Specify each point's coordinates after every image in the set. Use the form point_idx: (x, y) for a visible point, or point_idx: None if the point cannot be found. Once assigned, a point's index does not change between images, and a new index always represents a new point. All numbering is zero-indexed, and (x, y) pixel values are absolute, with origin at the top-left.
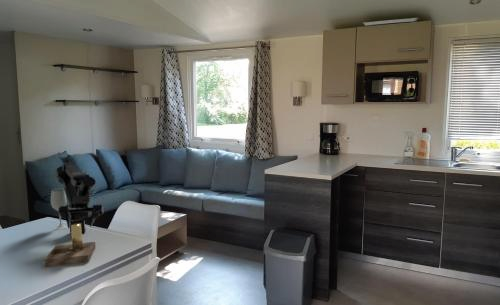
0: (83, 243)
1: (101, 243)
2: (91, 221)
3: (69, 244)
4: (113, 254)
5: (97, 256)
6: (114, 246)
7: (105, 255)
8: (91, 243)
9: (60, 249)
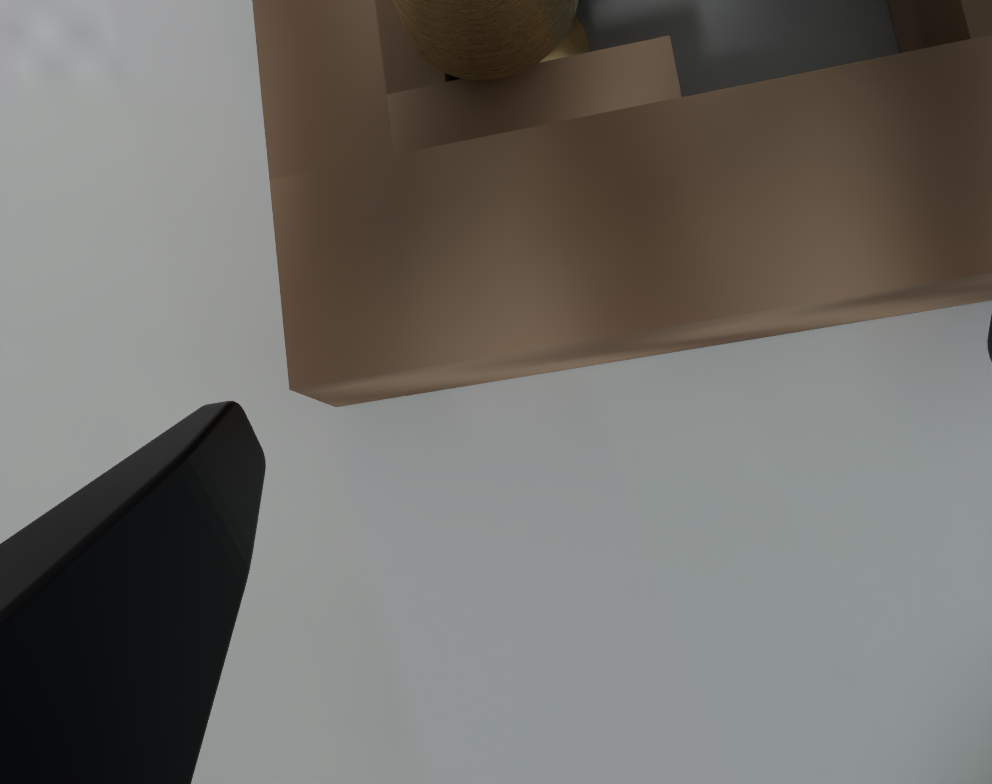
0: (496, 314)
1: (295, 637)
2: (101, 486)
3: (779, 282)
4: (10, 121)
5: (215, 61)
6: (48, 449)
7: (111, 91)
8: (335, 300)
9: (858, 68)
